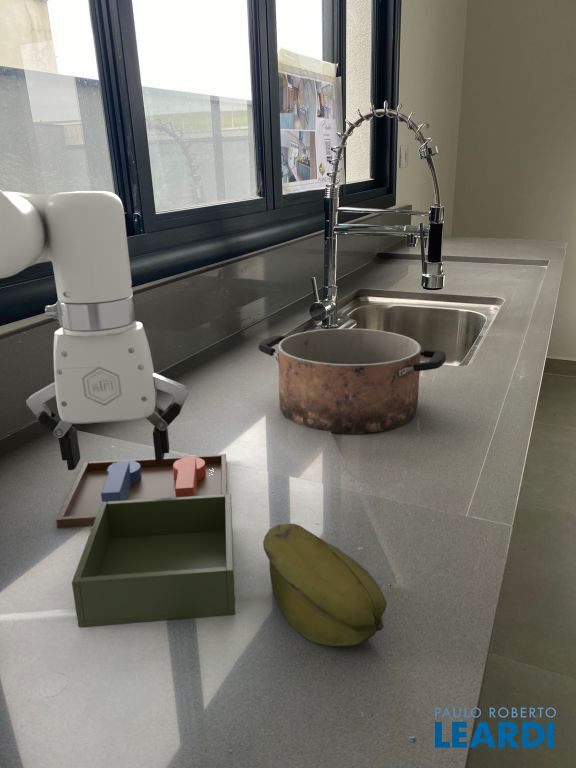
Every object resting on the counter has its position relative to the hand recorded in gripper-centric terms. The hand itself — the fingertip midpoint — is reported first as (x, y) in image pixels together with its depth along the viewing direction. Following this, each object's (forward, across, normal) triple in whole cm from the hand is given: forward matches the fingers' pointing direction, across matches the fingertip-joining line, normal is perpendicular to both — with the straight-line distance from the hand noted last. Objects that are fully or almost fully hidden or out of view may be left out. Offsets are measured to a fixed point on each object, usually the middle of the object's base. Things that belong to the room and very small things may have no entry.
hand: (117, 461), depth 69 cm
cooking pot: (+6, +32, +27) cm, 42 cm away
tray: (+5, +3, +2) cm, 6 cm away
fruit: (+6, +20, -21) cm, 30 cm away
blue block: (+5, 0, +2) cm, 5 cm away
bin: (+5, +6, -14) cm, 16 cm away
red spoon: (+5, +8, +2) cm, 9 cm away
